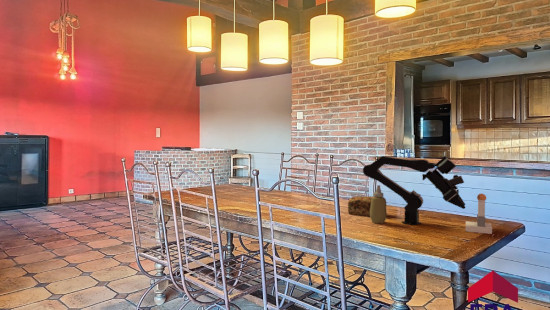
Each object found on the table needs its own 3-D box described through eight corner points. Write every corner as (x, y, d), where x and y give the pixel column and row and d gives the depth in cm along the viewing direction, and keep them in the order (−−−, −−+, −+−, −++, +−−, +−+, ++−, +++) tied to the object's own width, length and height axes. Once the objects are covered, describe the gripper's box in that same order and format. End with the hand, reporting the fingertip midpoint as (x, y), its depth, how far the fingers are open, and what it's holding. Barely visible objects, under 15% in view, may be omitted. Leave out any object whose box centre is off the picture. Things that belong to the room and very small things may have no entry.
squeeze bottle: (377, 224, 175) (378, 186, 174) (365, 221, 182) (366, 185, 181) (390, 223, 178) (390, 185, 178) (378, 219, 186) (379, 184, 185)
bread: (386, 214, 199) (387, 196, 199) (381, 218, 190) (382, 199, 190) (353, 211, 209) (353, 193, 209) (346, 214, 200) (347, 196, 199)
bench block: (465, 231, 163) (466, 216, 163) (465, 226, 172) (466, 212, 172) (491, 233, 158) (492, 218, 158) (490, 229, 167) (490, 214, 167)
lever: (476, 224, 163) (477, 194, 163) (476, 222, 168) (477, 192, 167) (485, 225, 161) (486, 194, 161) (485, 223, 166) (486, 193, 165)
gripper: (452, 170, 161) (480, 198, 156) (453, 167, 177) (478, 192, 173) (432, 187, 165) (458, 214, 160) (434, 183, 181) (459, 207, 177)
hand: (464, 206), depth 167 cm, fingers open, 8 cm apart
